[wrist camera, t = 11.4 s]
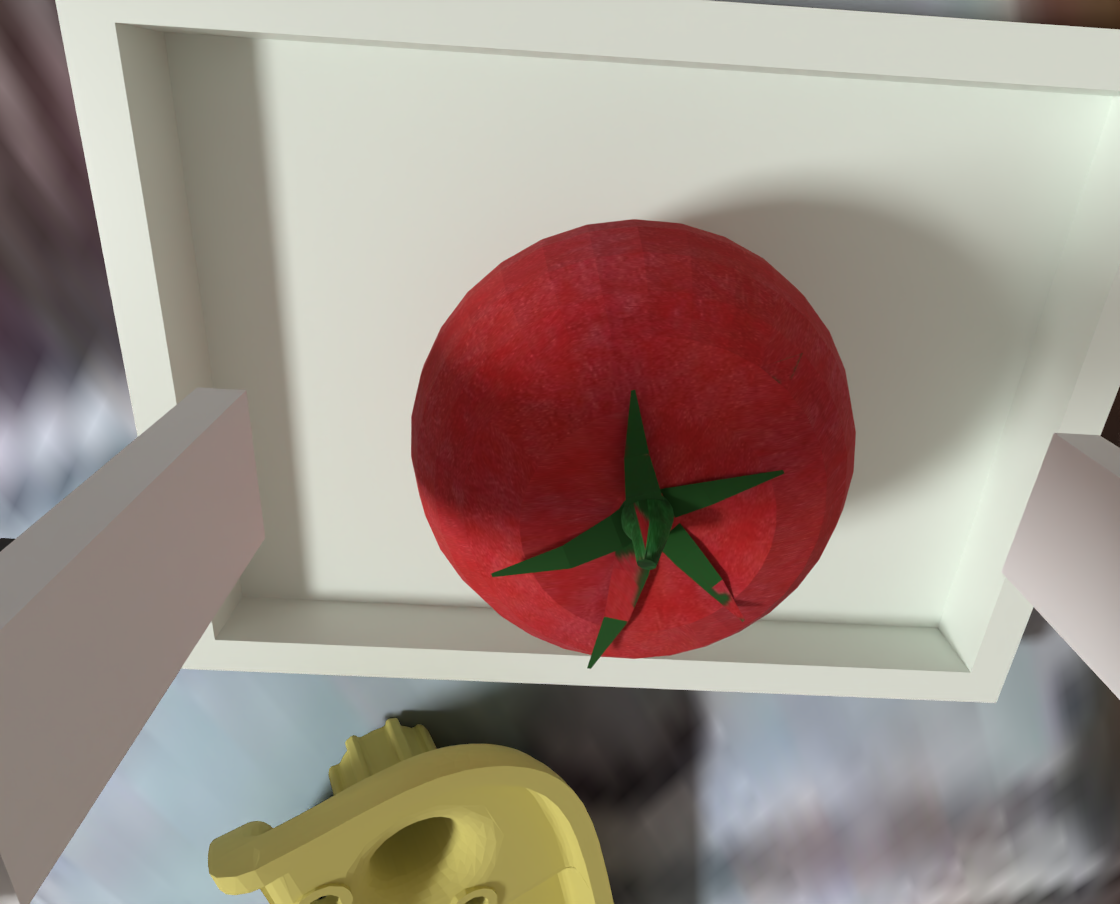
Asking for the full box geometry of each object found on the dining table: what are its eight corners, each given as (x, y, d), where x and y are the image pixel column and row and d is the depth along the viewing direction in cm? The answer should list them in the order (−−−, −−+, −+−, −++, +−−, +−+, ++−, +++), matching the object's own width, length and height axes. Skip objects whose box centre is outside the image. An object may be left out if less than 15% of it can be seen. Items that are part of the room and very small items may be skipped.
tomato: (610, 594, 21) (641, 846, 14) (363, 389, 19) (243, 567, 11) (865, 381, 19) (1065, 554, 11) (620, 110, 16) (676, 107, 9)
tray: (120, -24, 16) (46, -47, 13) (1156, 49, 16) (1255, 39, 14) (219, 611, 22) (181, 668, 20) (952, 643, 23) (996, 702, 21)
